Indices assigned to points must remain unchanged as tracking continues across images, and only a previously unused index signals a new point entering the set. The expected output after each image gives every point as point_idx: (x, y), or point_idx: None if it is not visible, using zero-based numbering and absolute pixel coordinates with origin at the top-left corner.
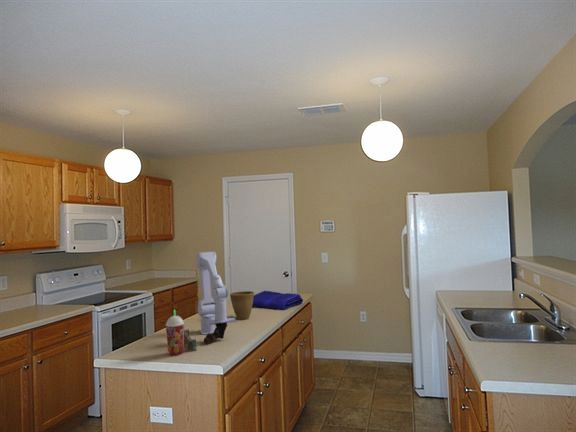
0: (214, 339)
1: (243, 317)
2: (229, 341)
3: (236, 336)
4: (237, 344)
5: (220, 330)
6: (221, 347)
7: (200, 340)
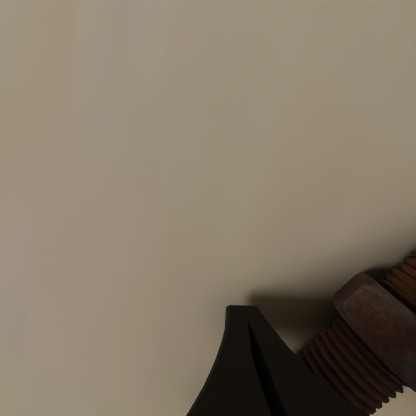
0: (344, 295)
1: None
2: (177, 217)
3: (62, 351)
4: (117, 17)
5: (300, 381)
6: (353, 4)
7: (412, 397)
